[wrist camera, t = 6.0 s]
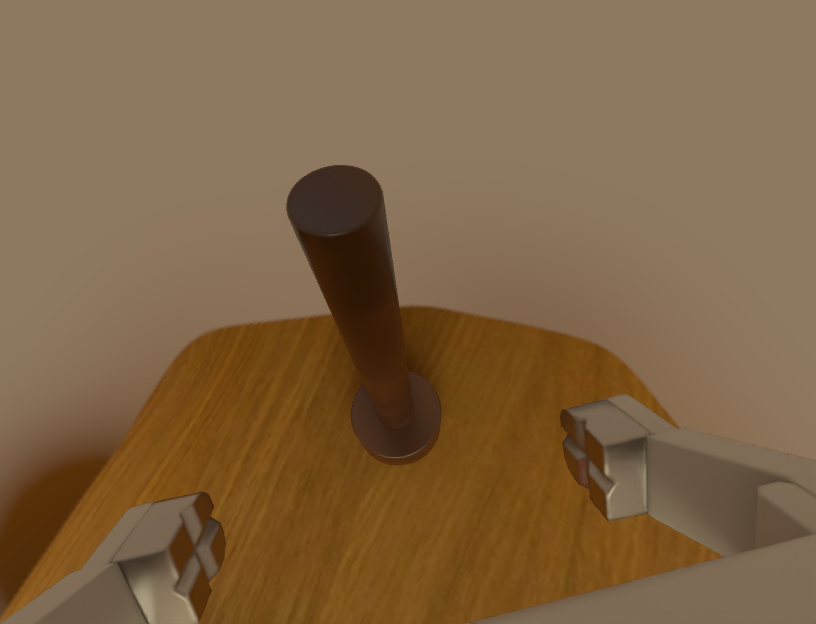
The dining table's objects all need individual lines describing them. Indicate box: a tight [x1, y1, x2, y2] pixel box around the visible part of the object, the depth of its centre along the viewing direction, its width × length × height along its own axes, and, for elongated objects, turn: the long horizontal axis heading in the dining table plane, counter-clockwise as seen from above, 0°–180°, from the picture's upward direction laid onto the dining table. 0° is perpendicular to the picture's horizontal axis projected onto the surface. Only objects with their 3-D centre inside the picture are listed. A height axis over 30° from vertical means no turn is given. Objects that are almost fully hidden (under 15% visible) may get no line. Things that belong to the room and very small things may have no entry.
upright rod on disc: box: [286, 165, 441, 465], centre depth 16 cm, size 5×5×18 cm
